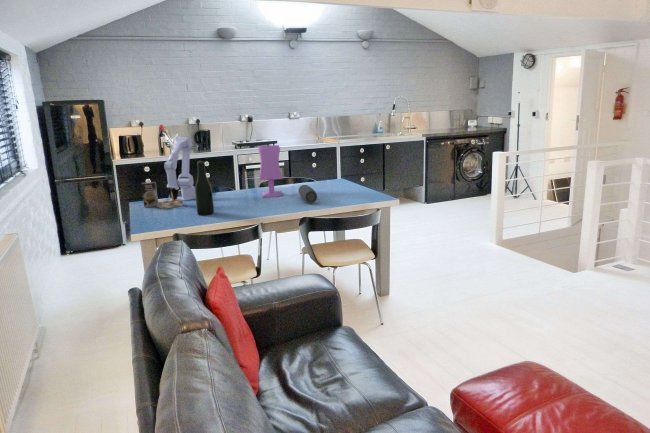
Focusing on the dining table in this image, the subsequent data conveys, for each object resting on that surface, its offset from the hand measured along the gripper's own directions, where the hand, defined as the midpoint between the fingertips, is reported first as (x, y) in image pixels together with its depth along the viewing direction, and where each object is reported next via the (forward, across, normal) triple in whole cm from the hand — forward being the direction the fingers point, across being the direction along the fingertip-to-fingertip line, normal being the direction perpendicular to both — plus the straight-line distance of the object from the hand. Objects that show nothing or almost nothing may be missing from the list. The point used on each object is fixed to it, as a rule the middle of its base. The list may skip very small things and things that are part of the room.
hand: (174, 198), depth 319 cm
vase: (+5, +26, +62) cm, 68 cm away
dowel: (+3, 0, 0) cm, 3 cm away
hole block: (+4, 0, -4) cm, 6 cm away
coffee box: (+5, -11, -12) cm, 17 cm away
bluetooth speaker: (+5, +62, +66) cm, 91 cm away
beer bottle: (+5, +39, +2) cm, 39 cm away
